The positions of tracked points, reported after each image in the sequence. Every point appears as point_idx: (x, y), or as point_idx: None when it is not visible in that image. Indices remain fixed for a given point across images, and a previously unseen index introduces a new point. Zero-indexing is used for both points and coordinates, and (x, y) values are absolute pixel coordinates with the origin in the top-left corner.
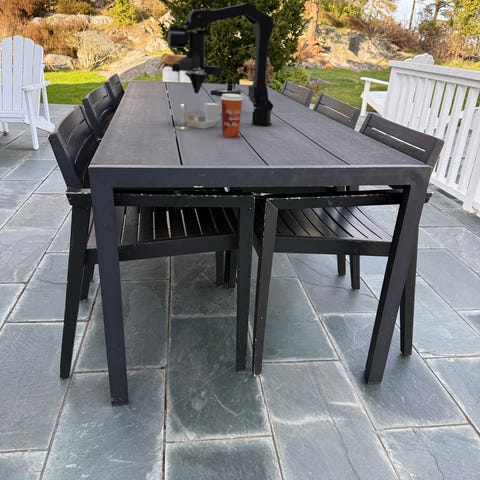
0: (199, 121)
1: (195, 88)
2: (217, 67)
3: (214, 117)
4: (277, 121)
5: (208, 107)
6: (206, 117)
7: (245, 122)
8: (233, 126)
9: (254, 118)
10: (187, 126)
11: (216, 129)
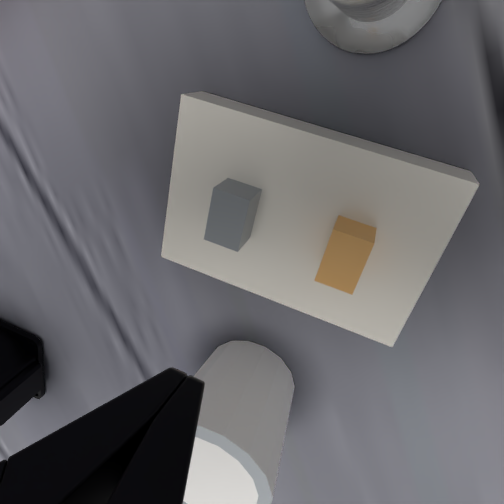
0: (246, 170)
1: (140, 428)
2: None
3: (206, 364)
4: (4, 431)
5: (215, 413)
6: (263, 370)
7: (89, 387)
8: None
9: (11, 369)
10: (326, 13)
11: (121, 116)
